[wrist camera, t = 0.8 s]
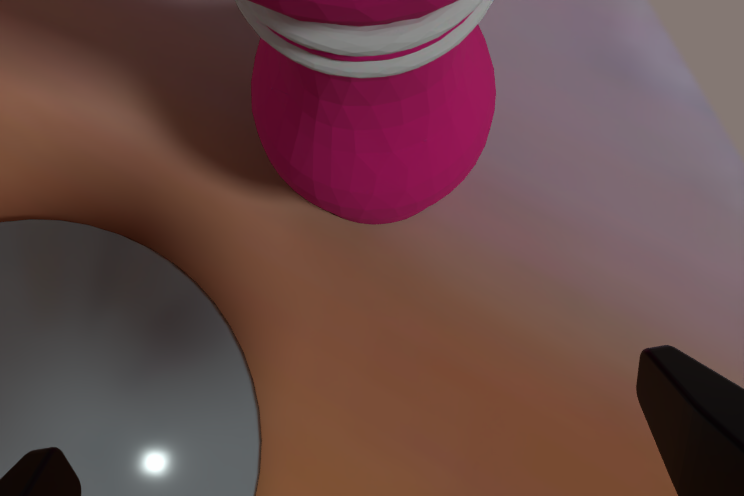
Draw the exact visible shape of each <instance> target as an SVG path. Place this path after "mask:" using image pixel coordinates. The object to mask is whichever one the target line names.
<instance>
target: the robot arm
mask: <svg viewBox="0 0 744 496" xmlns="http://www.w3.org/2000/svg"><path fill="white" fill-rule="evenodd" d="M636 391H637V397H638V400H639V403H640V406H641V408H642V411H643V413H644V415H645V418H646V420H647V423H648V425H649V428H650V430H651V432H652V435H653V437H654V440H655V442H656V444H657V447H658V449H659V452H660V454H661V457H662V459H663V461H664V464H665V466H666V469H667V471H668V474H669V476H670V478H671V481H672V483H673V485H674V487H675V490H676V492H677V494H678V496H744V389H743V388H742V387H740V386H738V385H737V384H735V383H733V382H732V381H730V380H728V379H727V378H725V377H723V376H721V375H720V374H718V373H716V372H715V371H713V370H711V369H710V368H708V367H706V366H705V365H703V364H701V363H700V362H698V361H696V360H695V359H693V358H691V357H690V356H688V355H686V354H685V353H683V352H681V351H680V350H678V349H676V348H675V347H672V346H669V345H664V346H658V347H652V348H646V349H644V350H643V351H642V352H641V355H640V360H639V368H638V377H637V385H636ZM0 496H81V483H80V480H79V478H78V476H77V475H76V473H75V471H74V470H73V468H72V466H71V465H70V463H69V462H68V460H67V458H66V457H65V455H64V453H63V452H62V451H61V450H60V449H59V448H57V447H49V448H43V449H37V450H32V451H30V452H28V453H27V454H25V455H24V456H23V457H22V458H21V459H20V460H19V461H18V462H17V463H16V464H15V465H14V466H13V467H12V468H11V469H10V470H9V471H8V472H7V473H6V474H5V475H4V476H3V477H2V478H1V479H0Z"/></svg>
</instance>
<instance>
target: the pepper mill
mask: <svg viewBox="0 0 744 496" xmlns="http://www.w3.org/2000/svg"><path fill="white" fill-rule="evenodd" d="M235 2H236V4H237V6H238V8H239V9H240V11H241V13H242V14H243V16H244V17H245V19H246V20H247V22H248V23H249V24H250V25H251V27H252V28H253V29H254V30H255V31H256V33H257V34H258V35H259V36H260V37H261V38H260V41H259V45H258V49H257V52H256V56H255V62H254V68H253V74H252V80H251V96H252V112H253V116H254V120H255V124H256V128H257V132H258V135H259V138H260V140H261V143H262V146H263V148H264V150H265V152H266V154H267V156H268V158H269V161H270V162H271V164H272V165H273V167H274V168H275V169H276V171H277V172H278V174H279V175H280V177H281V178H282V179H283V180H284V181H285V182H286V183H287V184H288V185H289V186H290V187H291V188H292V189H293V190H294V191H295V192H297V193H298V194H299V195H301V196H302V197H303V198H305V199H306V200H307V201H309V202H311V203H313V204H315V205H316V206H318V207H320V208H322V209H324V210H327V211H329V212H331V213H333V214H335V215H337V216H339V217H341V218H344V219H347V220H350V221H354V222H357V223H364V224H385V223H392V222H396V221H400V220H404V219H407V218H409V217H411V216H413V215H415V214H417V213H419V212H421V211H422V210H424V209H425V208H427V207H428V206H431V205H433V204H434V203H436V202H437V201H439V200H440V199H442V198H443V197H445V196H446V195H447V194H449V193H450V192H451V191H452V190H453V189H454V188H456V187H457V186H458V185H459V184H460V183H461V182H462V181H463V180H464V179H465V177H466V176H467V175H468V173H469V172H470V171H471V169H472V168H473V167H474V166H475V164H476V162H477V160H478V158H479V156H480V154H481V152H482V150H483V148H484V147H485V144H486V141H487V137H488V134H489V130H490V126H491V123H492V118H493V114H494V109H495V96H496V88H495V77H494V68H493V65H492V61H491V58H490V55H489V51H488V48H487V44H486V41H485V38H484V36H483V34H482V32H481V30H480V28H479V26H478V23H479V22H480V21H481V19H482V18H483V17H484V16H485V14H486V12H487V10H488V9H489V7H490V5H491V4H492V2H493V0H235Z"/></svg>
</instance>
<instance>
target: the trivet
mask: <svg viewBox="0 0 744 496" xmlns="http://www.w3.org/2000/svg"><path fill="white" fill-rule="evenodd" d="M261 442H262V440H261V426H260V413H259V406H258V401H257V396H256V392H255V387H254V382H253V378H252V376H251V373H250V370H249V367H248V364H247V361H246V358H245V355H244V352H243V350H242V348H241V346H240V344H239V342H238V340H237V338H236V336H235V334H234V333H233V331H232V329H231V327H230V325H229V324H228V322H227V321H226V319H225V318H224V316H223V315H222V313H221V312H220V310H219V309H218V307H217V306H216V304H215V303H214V302H213V301H212V300H211V298H210V297H209V296H208V295H207V294H206V293H205V292H204V291H203V290H202V288H201V287H200V286H199V285H198V284H197V283H196V282H195V281H194V280H193V279H192V278H191V277H189V276H188V275H187V274H186V273H185V272H183V271H182V270H181V269H180V268H179V267H178V266H176V265H175V264H174V263H173V262H171V261H169V260H168V259H166V258H165V257H163V256H162V255H160V254H158V253H157V252H155V251H154V250H152V249H151V248H149V247H146V246H144V245H142V244H140V243H138V242H136V241H133V240H131V239H129V238H127V237H125V236H122V235H119V234H116V233H113V232H109V231H106V230H103V229H99V228H96V227H93V226H90V225H85V224H79V223H73V222H67V221H61V220H32V219H30V220H20V221H10V222H1V223H0V479H1V478H2V477H3V476H4V475H5V474H6V473H7V472H8V471H9V470H10V469H11V468H12V467H13V466H14V465H15V464H16V463H17V462H18V461H19V460H20V459H21V458H22V457H23V456H24V455H25V454H27V453H28V452H30V451H32V450H37V449H43V448H49V447H57V448H59V449H60V450H61V451H62V452H63V453H64V455H65V457H66V458H67V460H68V462H69V463H70V465H71V466H72V468H73V470H74V471H75V473H76V475H77V476H78V478H79V480H80V483H81V496H256V491H257V485H258V479H259V474H260V461H261Z"/></svg>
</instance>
